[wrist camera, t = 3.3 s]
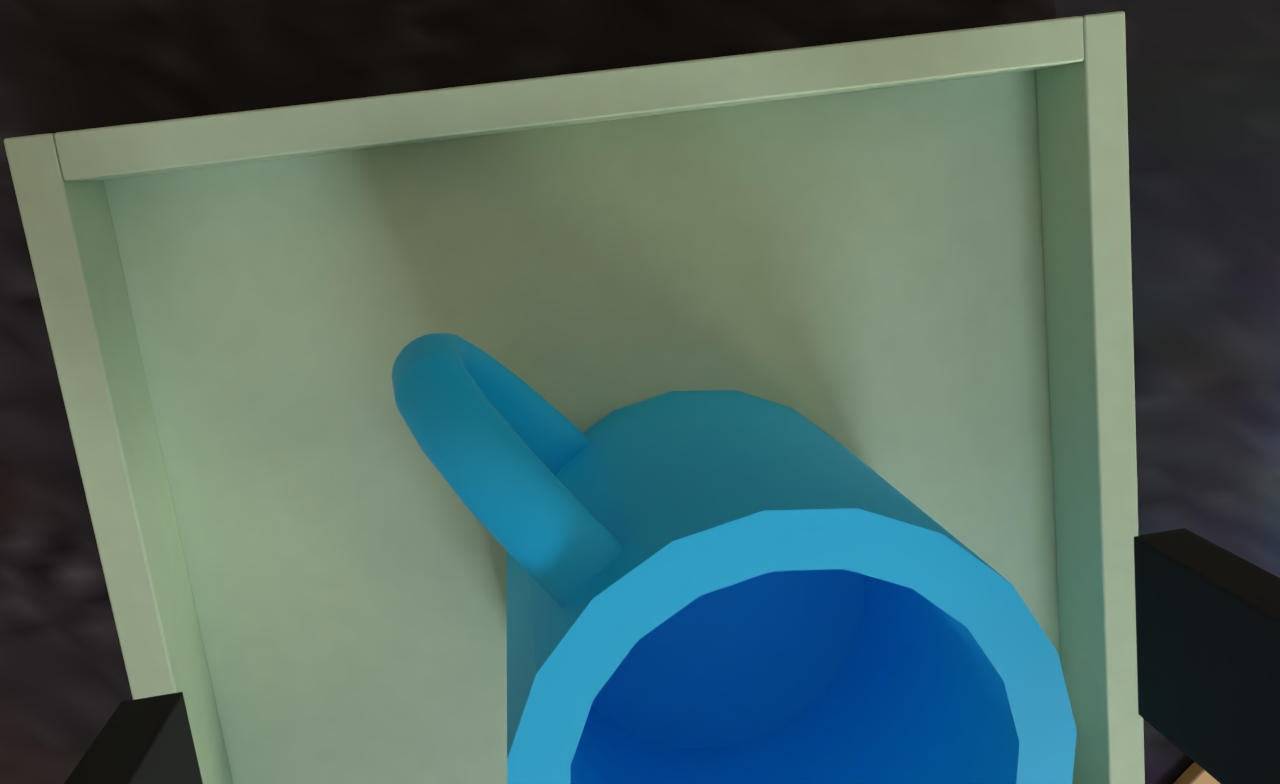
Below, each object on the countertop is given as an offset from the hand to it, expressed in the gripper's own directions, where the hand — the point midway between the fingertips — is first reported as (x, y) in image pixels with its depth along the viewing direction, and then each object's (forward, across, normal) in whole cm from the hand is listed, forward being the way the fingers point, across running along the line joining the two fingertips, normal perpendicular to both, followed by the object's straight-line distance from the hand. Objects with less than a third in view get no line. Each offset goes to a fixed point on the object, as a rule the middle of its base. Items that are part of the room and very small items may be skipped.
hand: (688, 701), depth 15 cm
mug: (+8, 0, 0) cm, 8 cm away
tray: (+9, 0, 0) cm, 9 cm away
